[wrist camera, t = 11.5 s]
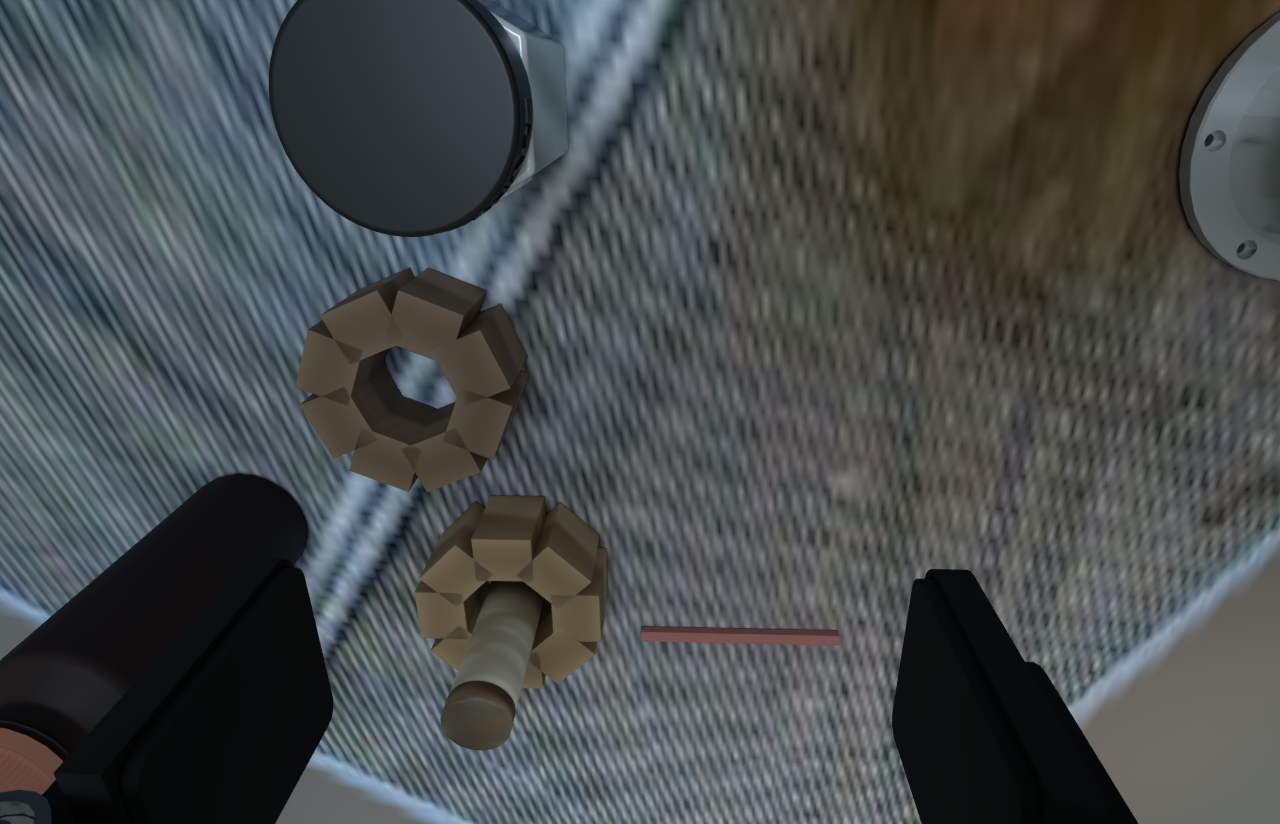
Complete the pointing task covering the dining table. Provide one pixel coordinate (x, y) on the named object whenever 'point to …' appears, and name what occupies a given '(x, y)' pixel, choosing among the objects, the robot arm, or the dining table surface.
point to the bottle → (131, 621)
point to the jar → (416, 107)
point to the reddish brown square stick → (740, 635)
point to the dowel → (493, 667)
